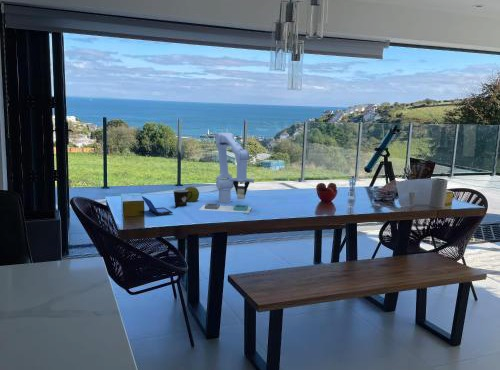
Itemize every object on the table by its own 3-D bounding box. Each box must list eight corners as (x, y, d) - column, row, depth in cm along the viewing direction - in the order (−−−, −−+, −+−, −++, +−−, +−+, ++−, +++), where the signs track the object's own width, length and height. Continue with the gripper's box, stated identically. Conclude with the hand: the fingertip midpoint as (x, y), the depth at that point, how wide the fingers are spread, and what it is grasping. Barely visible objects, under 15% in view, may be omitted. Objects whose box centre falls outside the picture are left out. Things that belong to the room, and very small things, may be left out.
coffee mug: (174, 209, 272) (174, 192, 270) (172, 205, 280) (172, 189, 278) (194, 208, 275) (194, 191, 273) (192, 205, 283) (192, 189, 281)
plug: (238, 197, 272) (238, 185, 271) (244, 198, 271) (245, 186, 270) (237, 199, 268) (237, 187, 267) (243, 199, 267) (244, 187, 266)
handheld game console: (173, 215, 258) (173, 198, 256) (150, 217, 251) (150, 200, 250) (164, 209, 271) (164, 193, 270) (141, 211, 265) (141, 195, 263)
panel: (204, 206, 281) (204, 201, 280) (251, 208, 277) (251, 204, 277) (198, 211, 267) (198, 206, 267) (248, 214, 264) (248, 209, 263)
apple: (200, 201, 295) (200, 184, 293) (197, 204, 286) (197, 186, 284) (184, 200, 296) (185, 183, 294) (181, 203, 287) (181, 186, 285)
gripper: (228, 171, 264) (227, 195, 266) (253, 172, 262) (252, 196, 265) (230, 169, 271) (229, 192, 273) (254, 171, 269) (254, 194, 271)
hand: (241, 194), depth 269 cm, fingers closed on plug, 4 cm apart
